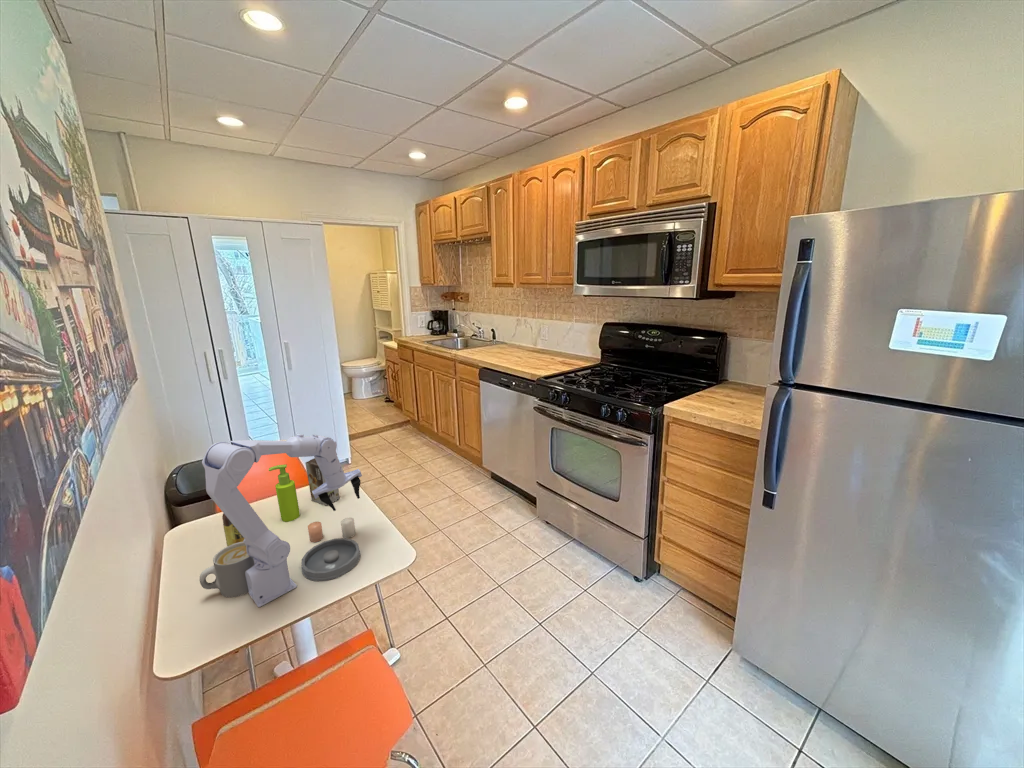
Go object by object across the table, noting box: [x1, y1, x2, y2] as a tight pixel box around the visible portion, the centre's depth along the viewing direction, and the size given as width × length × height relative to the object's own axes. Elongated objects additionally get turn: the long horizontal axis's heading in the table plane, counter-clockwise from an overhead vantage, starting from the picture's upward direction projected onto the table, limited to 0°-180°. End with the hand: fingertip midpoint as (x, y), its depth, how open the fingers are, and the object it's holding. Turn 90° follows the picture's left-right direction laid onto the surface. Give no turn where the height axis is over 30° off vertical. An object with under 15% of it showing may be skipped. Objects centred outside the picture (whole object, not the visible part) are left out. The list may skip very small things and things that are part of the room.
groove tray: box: [301, 537, 362, 582], centre depth 119 cm, size 16×16×2 cm
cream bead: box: [340, 517, 356, 539], centre depth 132 cm, size 4×4×5 cm
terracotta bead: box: [307, 521, 324, 543], centre depth 130 cm, size 4×4×5 cm
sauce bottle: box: [222, 512, 245, 547], centre depth 123 cm, size 7×6×20 cm
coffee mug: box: [199, 542, 254, 598], centre depth 109 cm, size 13×10×10 cm
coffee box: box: [305, 458, 341, 507], centre depth 152 cm, size 9×6×16 cm
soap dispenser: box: [268, 463, 301, 523], centre depth 140 cm, size 6×7×20 cm
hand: (346, 502), depth 129 cm, fingers open, 7 cm apart
